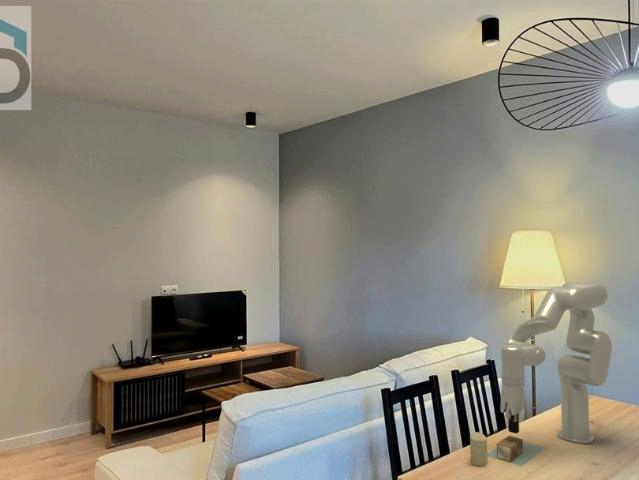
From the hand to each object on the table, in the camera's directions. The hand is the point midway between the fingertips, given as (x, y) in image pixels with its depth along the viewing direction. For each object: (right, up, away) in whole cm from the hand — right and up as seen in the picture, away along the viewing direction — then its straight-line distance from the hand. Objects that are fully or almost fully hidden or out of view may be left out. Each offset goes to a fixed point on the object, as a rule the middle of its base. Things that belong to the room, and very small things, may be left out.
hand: (513, 432), depth 175 cm
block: (+1, -5, +1) cm, 5 cm away
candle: (-15, -8, -7) cm, 18 cm away
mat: (+1, -8, +1) cm, 8 cm away
